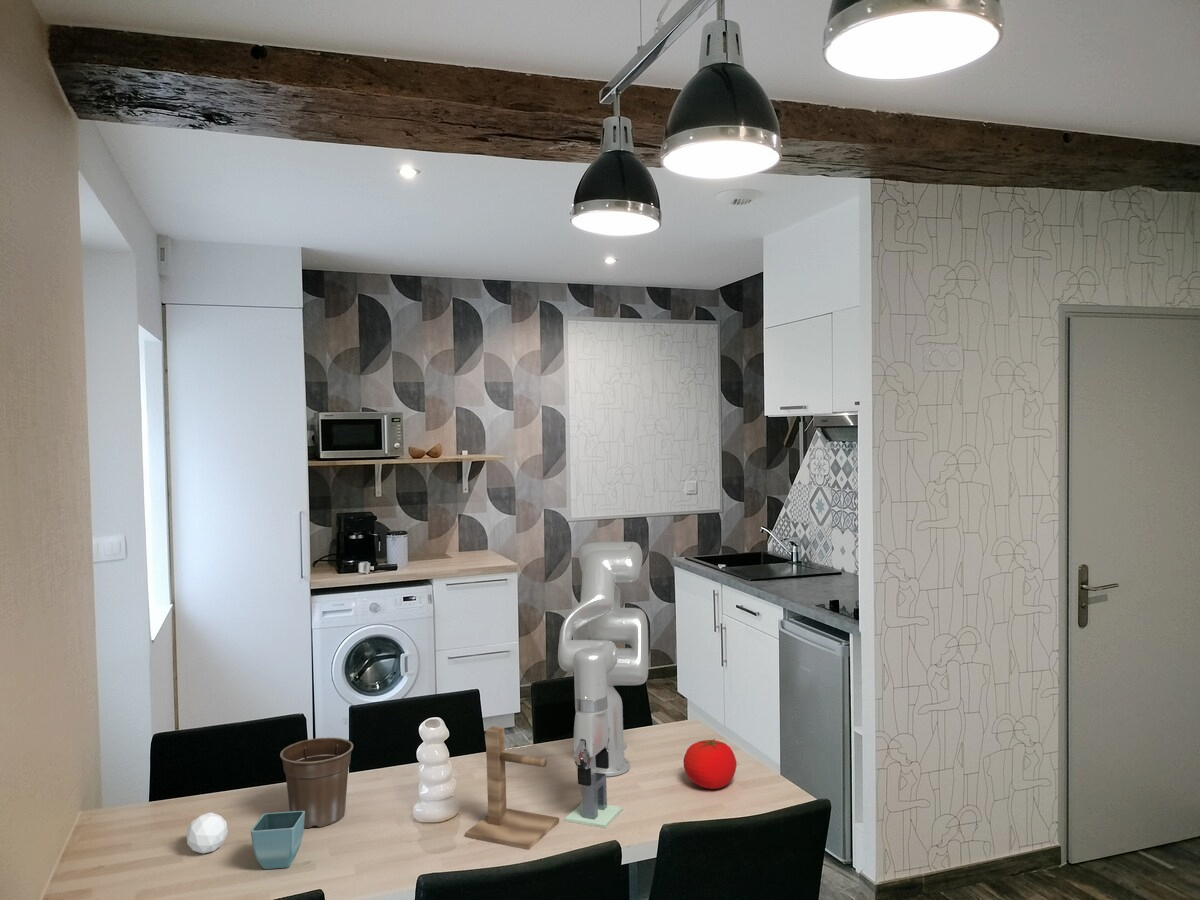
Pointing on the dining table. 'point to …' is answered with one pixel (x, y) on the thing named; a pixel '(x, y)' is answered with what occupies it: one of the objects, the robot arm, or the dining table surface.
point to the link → (594, 796)
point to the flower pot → (277, 838)
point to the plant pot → (317, 778)
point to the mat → (600, 821)
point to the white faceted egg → (207, 833)
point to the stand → (500, 820)
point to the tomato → (710, 763)
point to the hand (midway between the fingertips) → (593, 776)
